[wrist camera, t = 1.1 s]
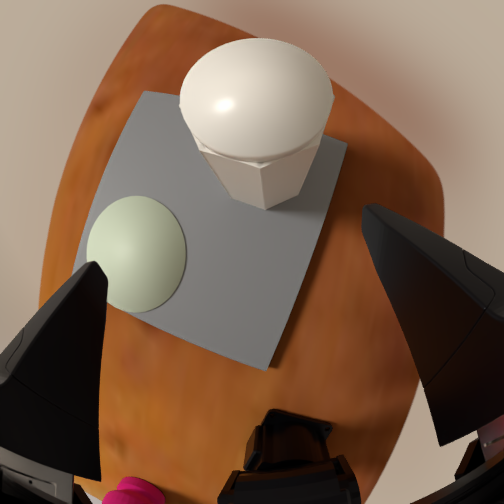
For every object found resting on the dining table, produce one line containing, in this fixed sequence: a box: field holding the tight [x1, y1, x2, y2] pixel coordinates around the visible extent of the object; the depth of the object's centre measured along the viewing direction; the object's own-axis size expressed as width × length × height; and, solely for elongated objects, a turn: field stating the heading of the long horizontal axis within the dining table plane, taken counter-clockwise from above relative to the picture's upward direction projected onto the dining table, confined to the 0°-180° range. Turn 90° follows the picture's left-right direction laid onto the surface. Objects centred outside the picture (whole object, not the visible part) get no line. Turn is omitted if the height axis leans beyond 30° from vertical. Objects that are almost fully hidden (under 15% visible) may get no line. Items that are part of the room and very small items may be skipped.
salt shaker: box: [179, 38, 335, 210], centre depth 16 cm, size 7×7×11 cm
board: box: [72, 91, 348, 371], centre depth 22 cm, size 20×20×1 cm
